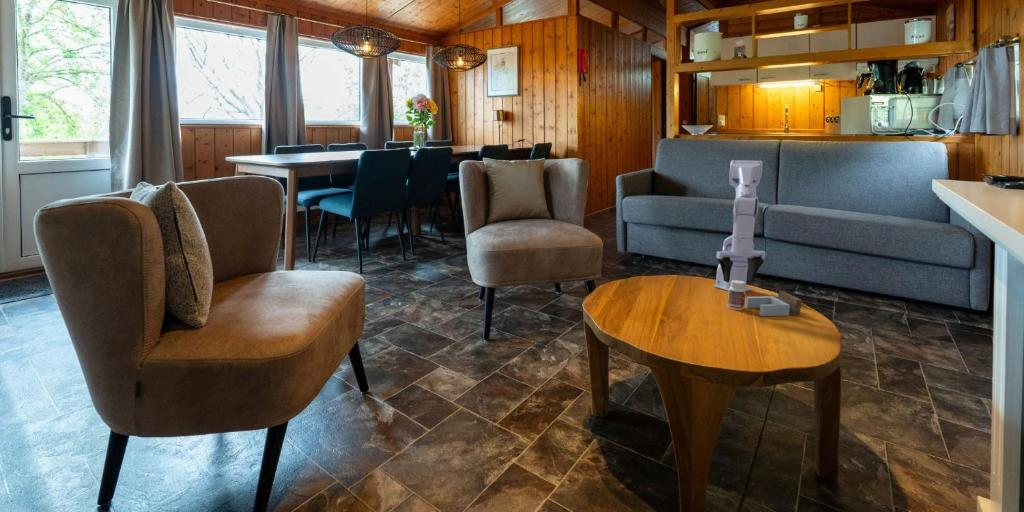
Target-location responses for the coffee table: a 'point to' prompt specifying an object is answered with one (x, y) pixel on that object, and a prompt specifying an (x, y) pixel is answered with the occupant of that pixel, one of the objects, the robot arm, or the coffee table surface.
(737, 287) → the pill bottle
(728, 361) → the coffee table surface
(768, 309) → the cradle
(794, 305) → the wall
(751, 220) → the robot arm
